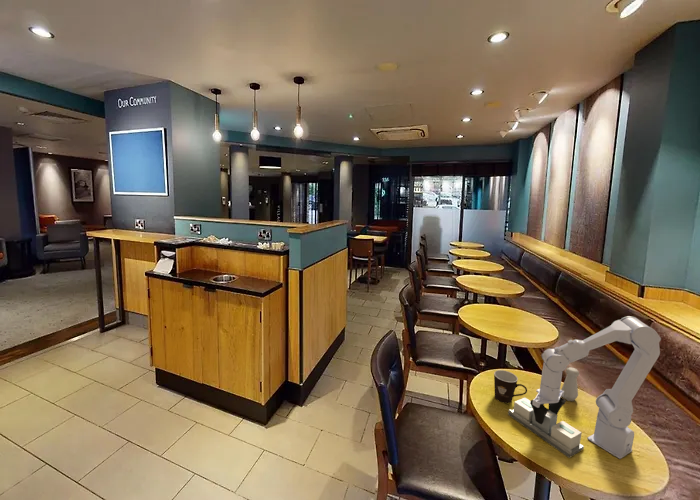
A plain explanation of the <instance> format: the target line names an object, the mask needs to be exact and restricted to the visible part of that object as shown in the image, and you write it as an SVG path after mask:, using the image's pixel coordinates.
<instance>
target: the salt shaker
mask: <svg viewBox="0 0 700 500" xmlns="http://www.w3.org/2000/svg"><path fill="white" fill-rule="evenodd" d="M565 373H566V377H565V379H564V382H563V384H562V386H561V388H560V390H562V391H564V396H563V397H562V398H563V399H565V400H566V401H570V402H574V401H575V400H577V398H578V397H579V390H578V378H579V375H580V372H579V370H578V369H577V368H576V367H575V368H574V367H567V368H566V369H565ZM577 377H578V378H577Z"/></svg>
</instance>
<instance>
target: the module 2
mask: <svg viewBox="0 0 700 500" xmlns="http://www.w3.org/2000/svg"><path fill="white" fill-rule="evenodd" d="M582 433H583V432H582V431H580V430H579V429H576V428H575V427H574V426H571V424H569V423H567V422H566V421H564V420H562V421H559V422H558V423H557V422H556V424H555V425H553V426H552V430H551V437H552V438H553V439H555V440H556V441H558V442H559V443H561V444H562V445H564V446H565V447H567V448H568V449H570V450H571V449H573V448H575V447H576V446H578V445H580V444H581V438H582Z"/></svg>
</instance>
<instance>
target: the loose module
mask: <svg viewBox="0 0 700 500" xmlns="http://www.w3.org/2000/svg"><path fill="white" fill-rule="evenodd" d="M557 422H558V414H557V415H556V414H555V413H553V412H551V411H550V410H549V411H548V412H547V413H546V415H545V418H544V422H543V424H539V423H538V422H536V420H535V415H534V410H533V416H532V424H534V425H535V426H537V427H538V428H540V429H541V430H543V431H544V432H546V433H547V434H550V433H551V430H552V426H553V425H555V424H557Z"/></svg>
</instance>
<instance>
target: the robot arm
mask: <svg viewBox="0 0 700 500" xmlns="http://www.w3.org/2000/svg"><path fill="white" fill-rule="evenodd" d="M661 340H662V338H661V336H660V335H659V333H658V332H657V331H656V330H655V329H654V328H652V327H651V326H649V325H647V324H646V323H644V322H643V321H641V320H640V319H639V318H637V317H636V316H630V315H627V316H624V317H621V319H617V320H614V321H613V322H612V323H611V325H609V326H606V327H605V328H604V329H601V330H600V331H598V332H596V333H594V334H592V335H590V336H589V337H586V338H585V339H583V340H582V339H576V338H575V339H574V340H572V339H569V340H567V342H566V343H563V344H562V345H559V346H556V347H554V348H547V349H545V350H544V351H543V352H542V353H541V358H542V361H543V364H542V365H543V366H542V371H541V379H540V386H539V388H537V389H536V391H535V392H536V393H537V394H536V396H535V398H533V399H531V400H530V404H531V406H532V408H533V410H534V415H535V420H536V422H538V423H539V424H543V422H544V418H545V415H546V413H547V412H548V411H549V410H550V411H551V412H553V413H555V414H556V415H558V414H559V412H560V410H561V408H562V407H563V406H564V405H565V404H566V401H567V400H566V399H564V398H563V396H564V391H562V390H561V387H562V386H561V385H562V379H563V378H562V377H563V372H564V371H566V369H567V368H568V366H569V365H570V364H571V363H574V362H576V361H578V360H581V359H583V358H585V357H588V356H589V354H590V351H592V350H596V349H597V348H600V347H603V346H605V345H609V344H611V343H614V342H619V343H624V344H628V345H632V346H633V349H634V350H633V352H632V353H631V355H630V357H629V359H628V360H627V361H626V364H625V365H624V367H623V369H622V370H621V372H620V374H619V376H618V377H617V379H616V381H615V383H614V384H613V386H612V388H606V389H605V390H604V391H603V393H602V394H600V395H598V396H597V397H596V398H595V405H596V406H597V407H598V412H597V416H596V420H595V421H596V422H595V426H594V432H593V434H591V435H589V436H588V437H587V440H589V441H590V442H592V443H594V444H595V445H597V446H598V447H600V448H602V449H603V450H605V451H606V452H608V453H609V454H610V455H612V456H614V457H615V458H618V460H621V459H622V458H624V457H626V456H628V455H629V454H630V453H631V452H633V444H634V440H635V431H633V430H632V429H631V428H629V426H630V425H631V423H632V414H633V413H634V407H633V399H634V397H636V394H637V393H638V391H639V389H640V388H641V386H642V385H643V383H644V382H645V380H646V377H647V376H648V375H649V373H650V372H651V370H652V369H653V366H654V365H655V364H656V362H657V360H658V358H659V357H660V354H661V351H660V350H661V349H660V342H661ZM545 404H548V408H547V407H546V406H545Z"/></svg>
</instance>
